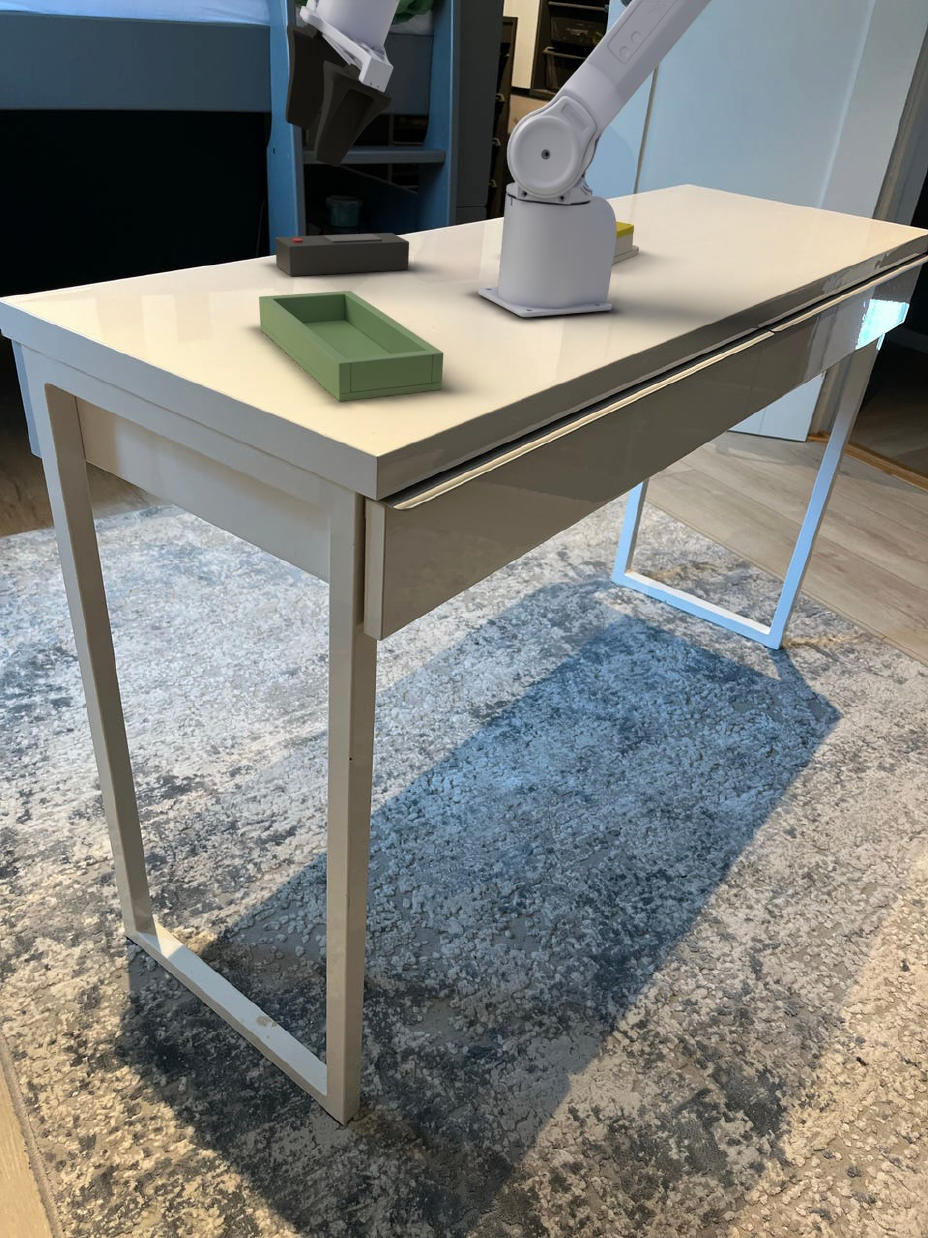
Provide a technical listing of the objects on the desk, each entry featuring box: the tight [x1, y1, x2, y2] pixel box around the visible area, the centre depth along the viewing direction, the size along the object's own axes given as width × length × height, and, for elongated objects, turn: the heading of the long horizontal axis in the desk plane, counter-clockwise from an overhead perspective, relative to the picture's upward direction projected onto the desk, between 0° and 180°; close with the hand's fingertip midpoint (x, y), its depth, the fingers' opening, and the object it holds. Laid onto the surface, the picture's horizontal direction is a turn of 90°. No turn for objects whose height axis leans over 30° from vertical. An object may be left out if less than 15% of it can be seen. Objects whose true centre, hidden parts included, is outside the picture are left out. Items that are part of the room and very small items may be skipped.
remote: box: [274, 232, 410, 277], centre depth 88 cm, size 12×4×3 cm, turn 118°
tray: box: [258, 290, 444, 402], centre depth 66 cm, size 7×16×2 cm, turn 28°
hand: (310, 143), depth 79 cm, fingers open, 7 cm apart
